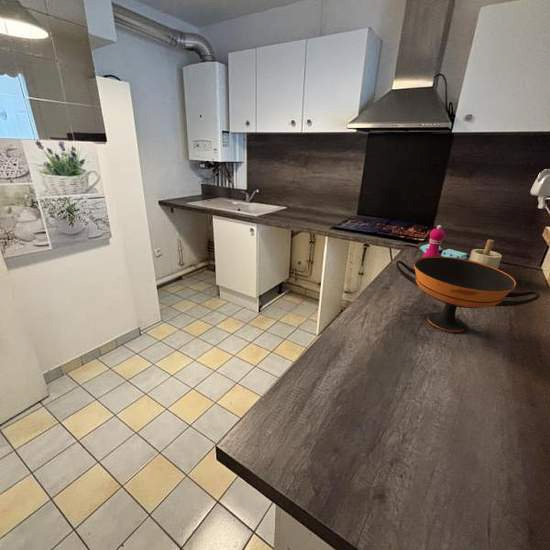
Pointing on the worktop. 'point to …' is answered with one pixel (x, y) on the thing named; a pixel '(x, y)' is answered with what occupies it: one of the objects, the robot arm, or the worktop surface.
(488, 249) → the brush
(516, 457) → the worktop surface
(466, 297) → the cup
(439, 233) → the pepper mill
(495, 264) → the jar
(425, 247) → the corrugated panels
